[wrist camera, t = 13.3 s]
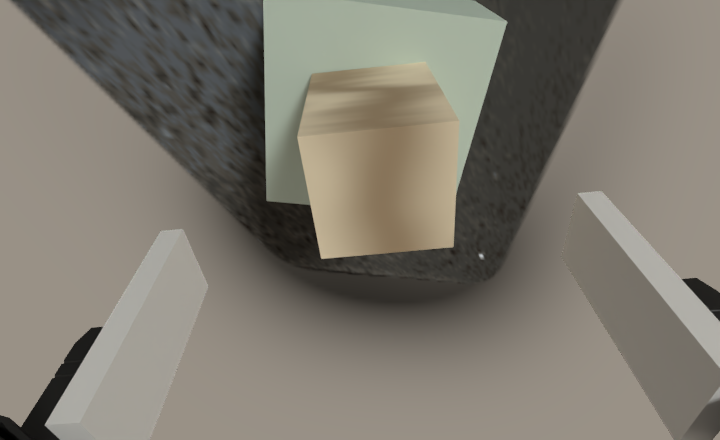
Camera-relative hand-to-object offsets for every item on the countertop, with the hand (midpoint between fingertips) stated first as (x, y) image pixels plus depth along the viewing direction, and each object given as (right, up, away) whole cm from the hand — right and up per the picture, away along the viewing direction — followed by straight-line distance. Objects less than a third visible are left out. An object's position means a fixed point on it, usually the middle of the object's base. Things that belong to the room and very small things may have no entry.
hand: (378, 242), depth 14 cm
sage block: (0, +10, +15) cm, 18 cm away
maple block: (0, +6, +9) cm, 11 cm away
